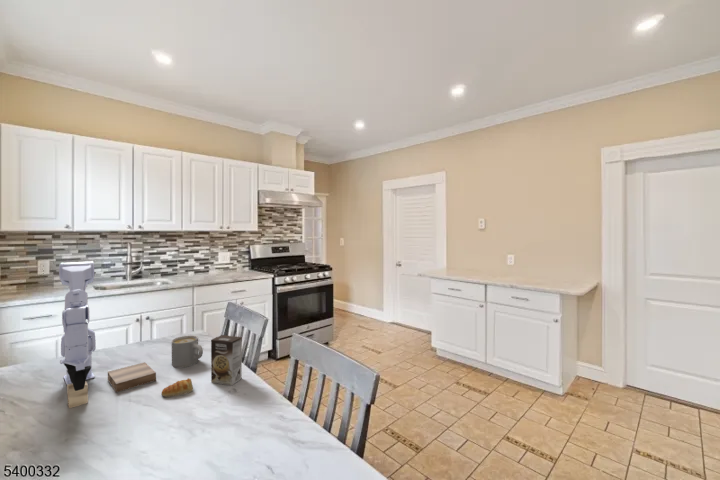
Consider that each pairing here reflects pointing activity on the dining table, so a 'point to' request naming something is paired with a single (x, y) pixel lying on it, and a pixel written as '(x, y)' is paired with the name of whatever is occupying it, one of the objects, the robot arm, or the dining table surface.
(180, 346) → the coffee mug
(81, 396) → the beech block
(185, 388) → the pastry
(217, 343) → the coffee box
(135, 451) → the dining table surface
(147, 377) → the walnut base
